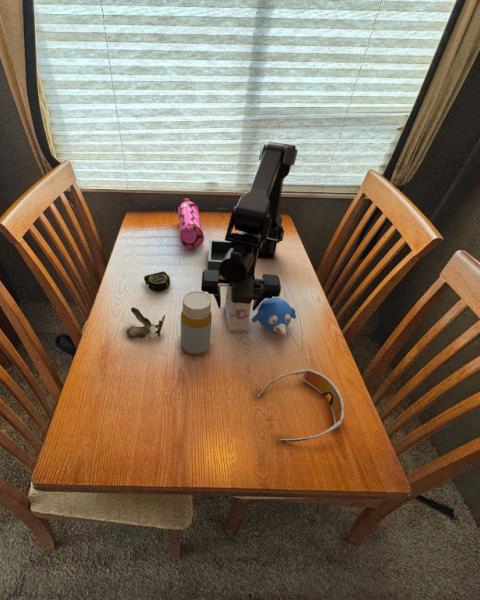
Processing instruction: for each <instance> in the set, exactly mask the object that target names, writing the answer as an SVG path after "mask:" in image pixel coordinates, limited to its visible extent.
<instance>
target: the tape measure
mask: <svg viewBox="0 0 480 600" xmlns="http://www.w3.org/2000/svg"><path fill="white" fill-rule="evenodd" d="M143 281H144V282H145V285H146V286H147V287H148V289H149V290H150V291H151V292H153V293H162V292H165V291H167V290H169V288H170V287H171V277H170V275H169V274H167V272H166V271H158V272H154V273H150V274H147V275H146V274H145V275H144V277H143Z"/></svg>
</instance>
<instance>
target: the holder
mask: <svg viewBox="0 0 480 600" xmlns="http://www.w3.org/2000/svg"><path fill="white" fill-rule="evenodd" d="M231 243H232V242H229V241H225V240H219V239H216V240H215V239H209V241H208V257H207V270H216V271H219V266H220V264H221V262H222V261H223V259H224V257H225V256H226V254H227V253H228V251H229V249H230V248H231ZM218 276H221V274H220V272H219V273H218Z"/></svg>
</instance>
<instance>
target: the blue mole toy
mask: <svg viewBox="0 0 480 600" xmlns="http://www.w3.org/2000/svg"><path fill="white" fill-rule="evenodd" d="M292 319H293V320H295V319H297V314H296V309H295V308H294V307H291V306H290V304H289V303H288V302H287V301H286V300H285V299H283V298H280V297H272V298H266V299H264V300H263V301H262V302H261V303H260V304H259V306H258V307H257V311H256V314H255V315H254V316H253V317H252V318H251V322H252V323H253V324H256V323H257V322H259V324H260V326H261V327H262V328H263V329H265V330H266V331H270V332H274V333H278V334H281V335H282V336H283V337H284V338H286V337H287V336H288V334H287V330H286V328H288V326H290V324H291V322H292Z"/></svg>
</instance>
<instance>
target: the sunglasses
mask: <svg viewBox="0 0 480 600" xmlns="http://www.w3.org/2000/svg"><path fill="white" fill-rule="evenodd" d="M293 375H296V376H297V375H302V381H303V382H304V383H306V384H308V385H309V386H311V387H312V388H313V389H315V390H316V391H317V392H319V393H320V394H321V395H322V396H326V395H330V398H329V403H328V405H329V406H330V409H331V412H332V416H333V425H332V426H331V427H329V428H328V429H326V430H324V431H323V432H321V433H318V434H316V435H311V436H307V437H299V438H279V441H281V442H300V441H308V440H312V439H317V438H318V437H321V436H324V435H326V434H329V433H332V432H333V431H335V430H336V429H338V428H339V427H340V426H342V425H343V424H342V423H343V421H344V416H345V403H344V399H343V397H342V393H341V392H340V390H339V388H338V387H337V385H336V384H335V383H334V382H333V381H332V380H331V379H330V378H328V377H327V376H326V375H324V374H323V373H321V372H319V371H316V370H313V369H310V368H309V369H307V368H306V369H305V368H304V369H299V370H294V371H291V372H287V373H285V374H281V375H280V376H278V377H275V378H274V379H272V380H271V381H269V383H268V384H266V385H265V386H264V388H262V390H261V391H260V392H259V394H258V395H257V397H258V398H259V397H261V396H262V395H263V393H264V392H265V391H266V390H267V389H268V388H269V387H270V386H271V385H272V384H273V383H275V382H277V381H279V380H281V379H282V378H284V377H288V376H293Z"/></svg>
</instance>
